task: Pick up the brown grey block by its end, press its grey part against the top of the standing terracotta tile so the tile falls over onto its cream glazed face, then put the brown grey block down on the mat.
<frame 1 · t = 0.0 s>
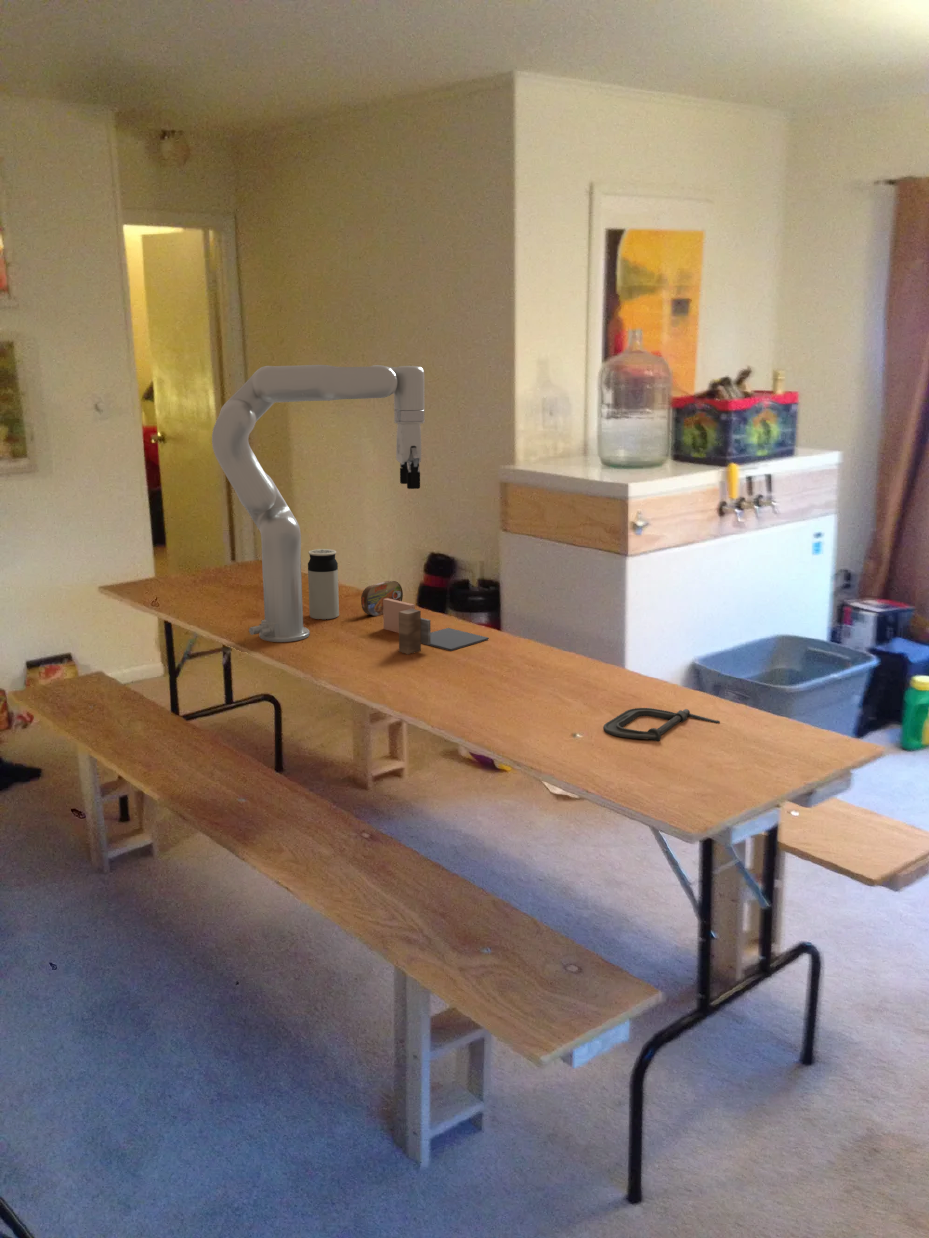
hand: (410, 486, 269), 37 cm above the table, tool pointing down, fingers open, 9 cm apart
travel mug: (324, 617, 291), on the table
tin: (382, 613, 296), on the table
brown grey block: (410, 651, 258), on the table
c clamp: (656, 730, 209), on the table
tile: (399, 631, 276), on the table
mat: (449, 639, 268), on the table
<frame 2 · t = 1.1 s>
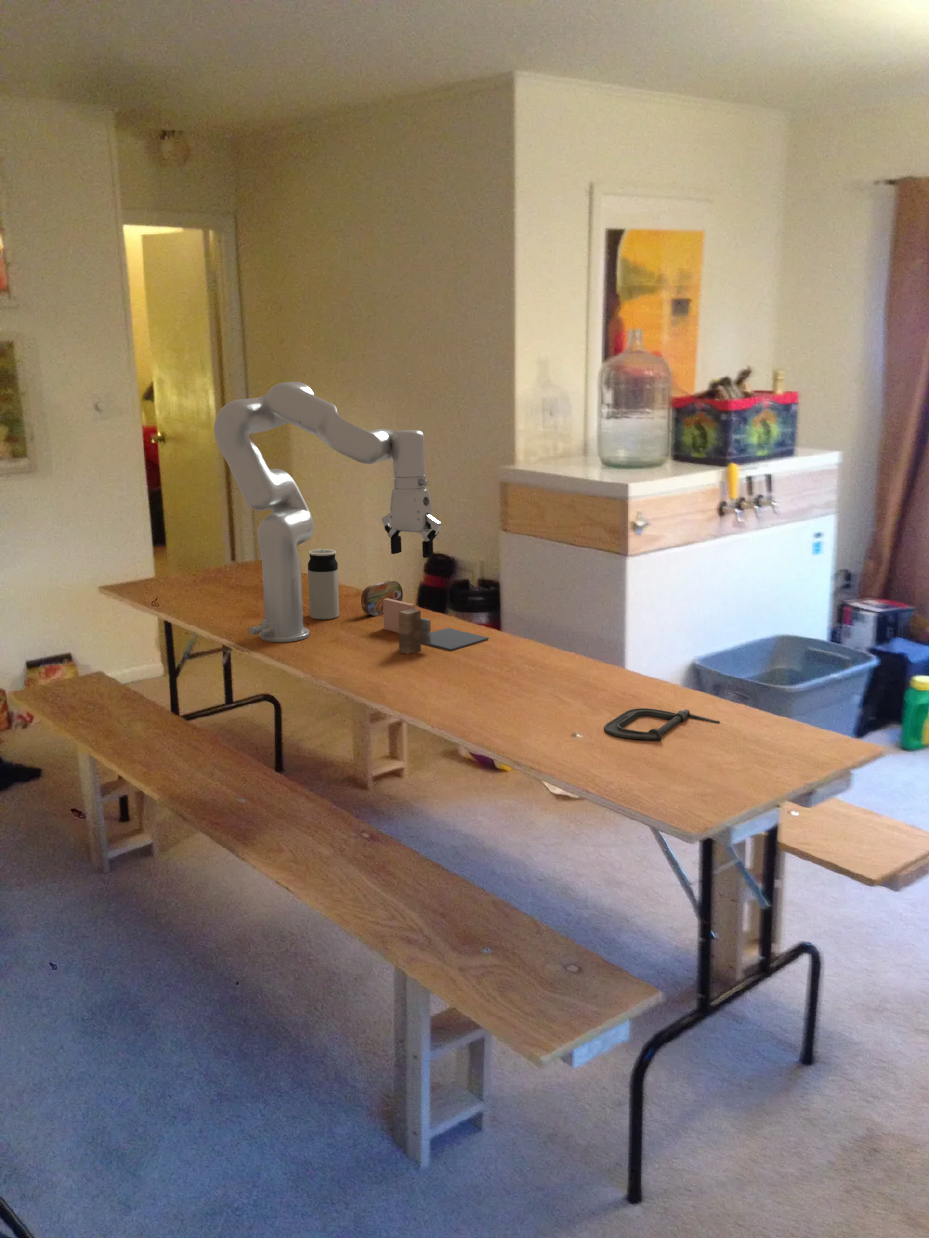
hand: (411, 555, 255), 23 cm above the table, tool pointing down, fingers open, 9 cm apart
nothing on the table moved.
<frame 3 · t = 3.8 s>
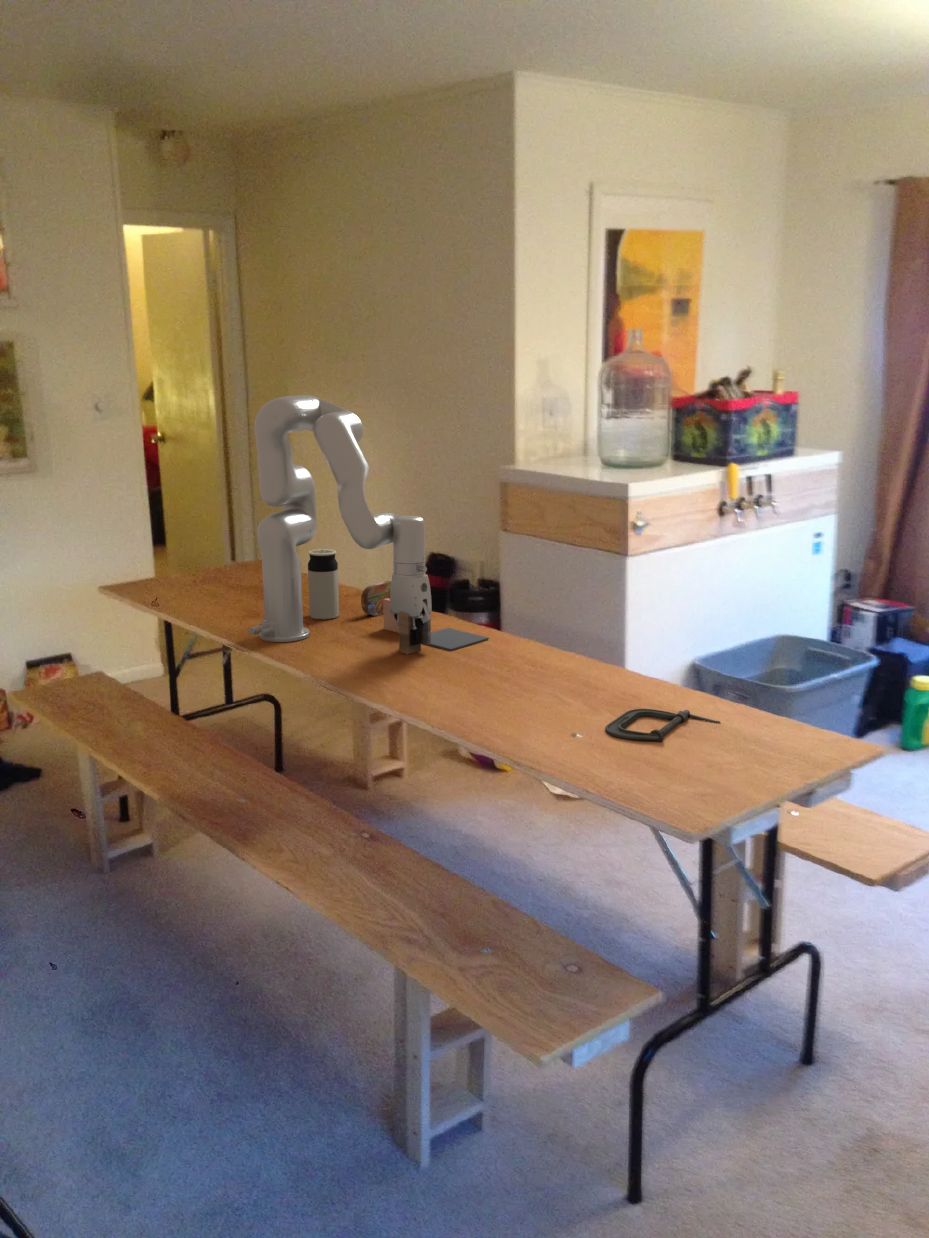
hand: (410, 642, 258), 2 cm above the table, tool pointing down, fingers closed on brown grey block, 3 cm apart
brown grey block: (410, 651, 258), on the table, touching gripper
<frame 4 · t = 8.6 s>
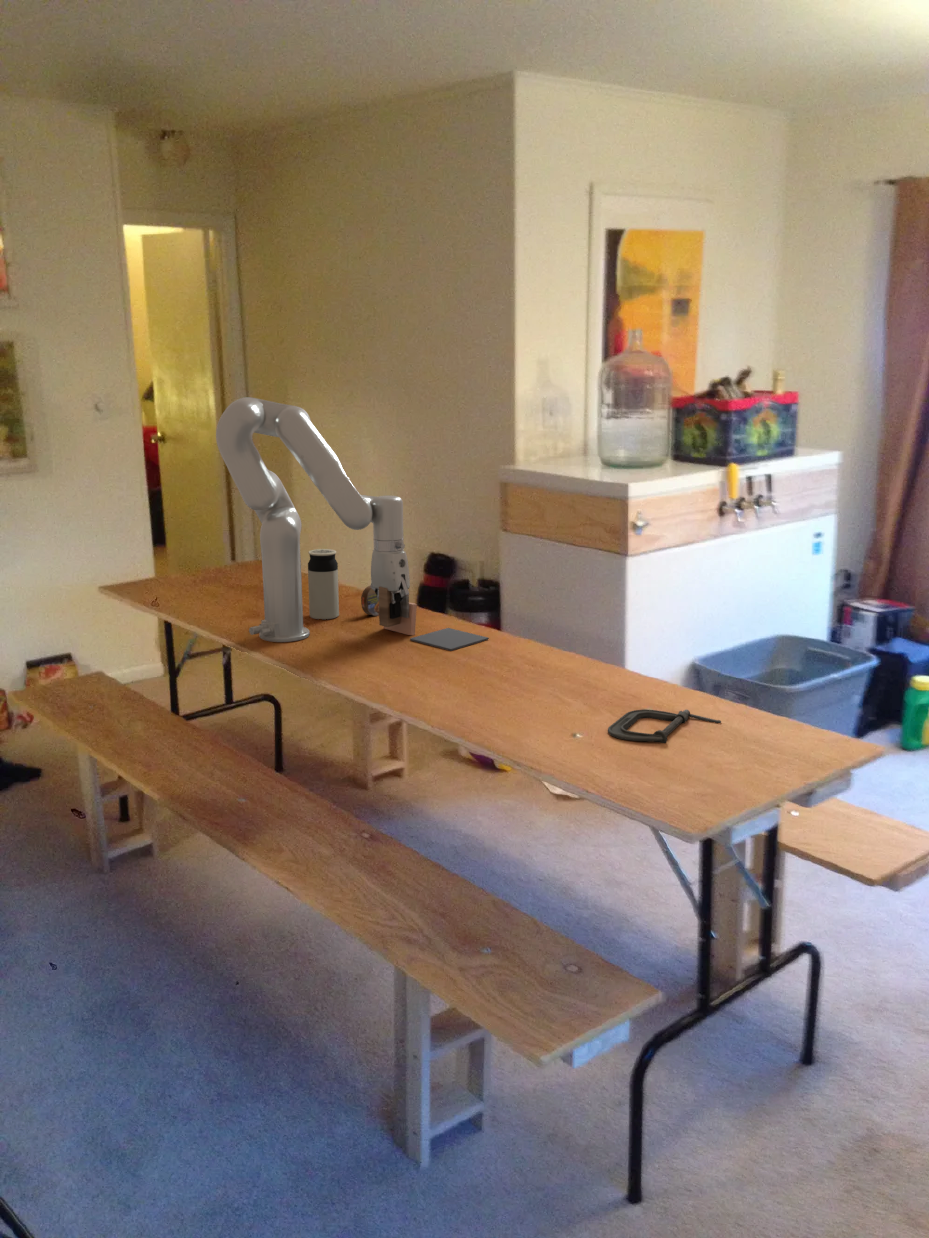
hand: (389, 615, 272), 5 cm above the table, tool pointing down, fingers closed on brown grey block, 3 cm apart
brown grey block: (389, 624, 273), point 3 cm above the table, touching gripper
tile: (399, 631, 276), on the table, tilted 5°
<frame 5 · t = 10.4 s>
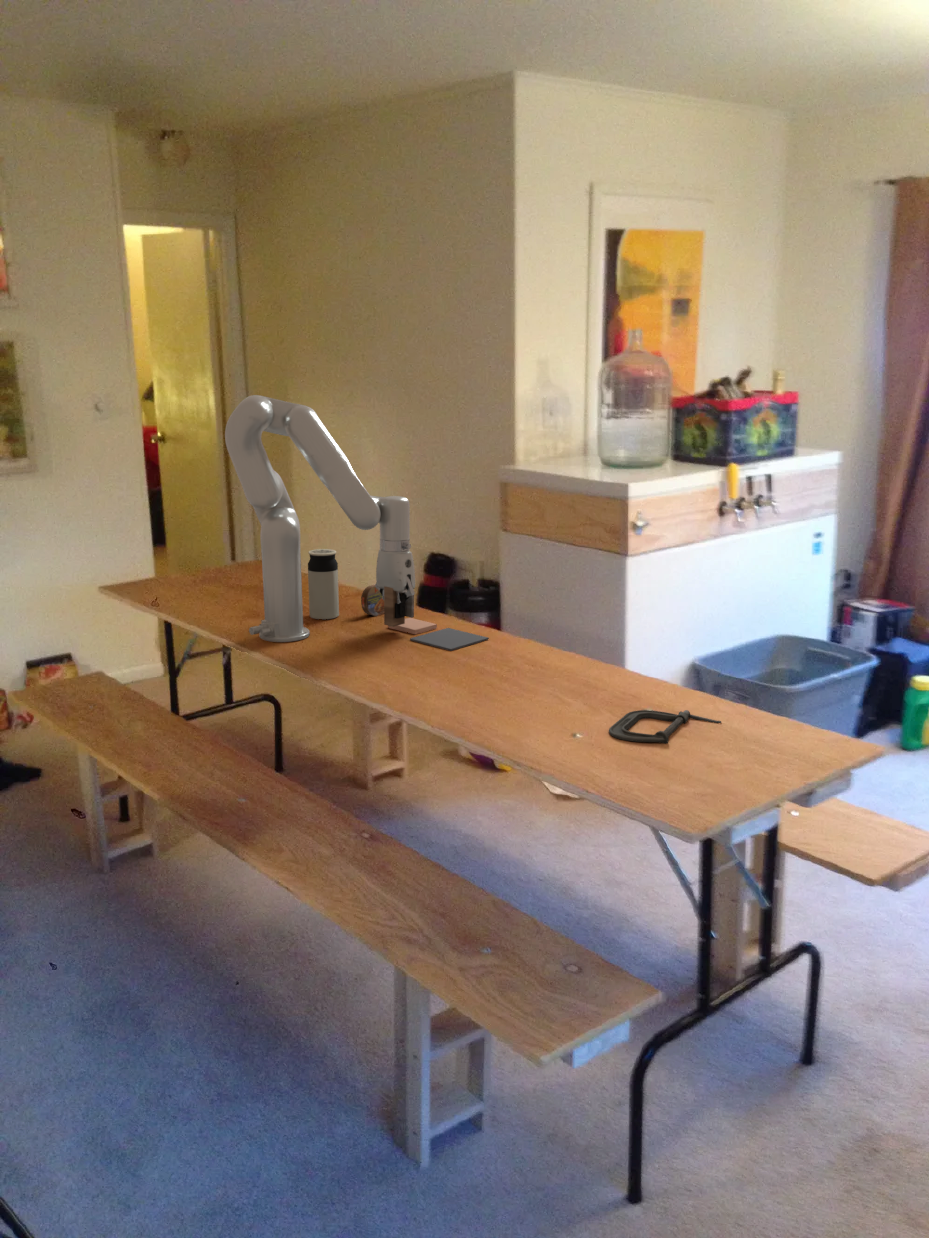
hand: (394, 615, 274), 4 cm above the table, tool pointing down, fingers closed on brown grey block, 3 cm apart
brown grey block: (394, 624, 275), point 2 cm above the table, touching gripper
tile: (401, 629, 276), on the table, tilted 90°
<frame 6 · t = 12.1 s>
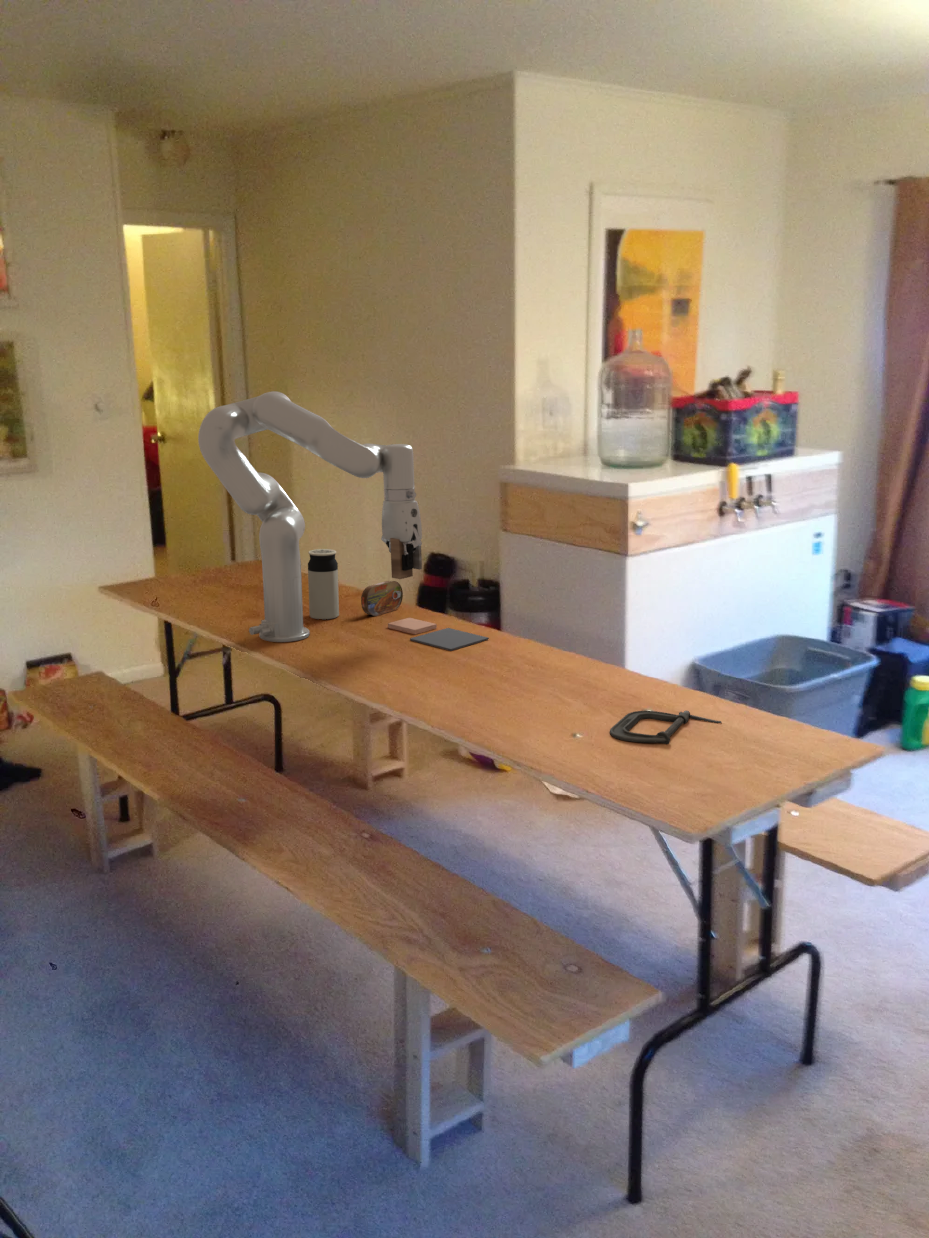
hand: (402, 568, 266), 18 cm above the table, tool pointing down, fingers closed on brown grey block, 3 cm apart
brown grey block: (402, 577, 267), point 16 cm above the table, touching gripper
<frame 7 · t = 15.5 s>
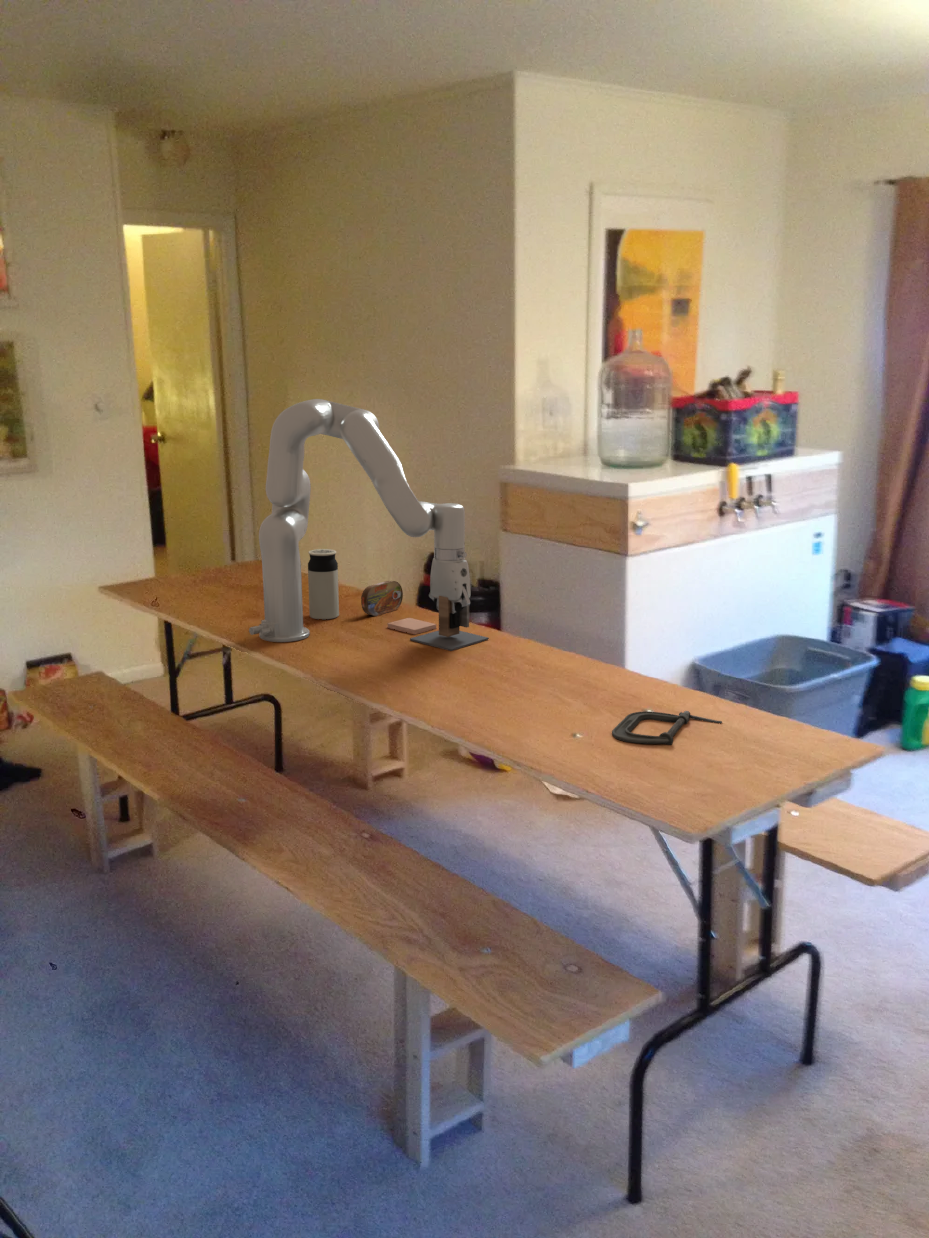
hand: (449, 625, 267), 4 cm above the table, tool pointing down, fingers closed on brown grey block, 3 cm apart
brown grey block: (449, 634, 268), point 2 cm above the table, touching gripper
when the fingers open (4 cm above the table, at t = 15.7 s): brown grey block stays where it is, resting on mat.
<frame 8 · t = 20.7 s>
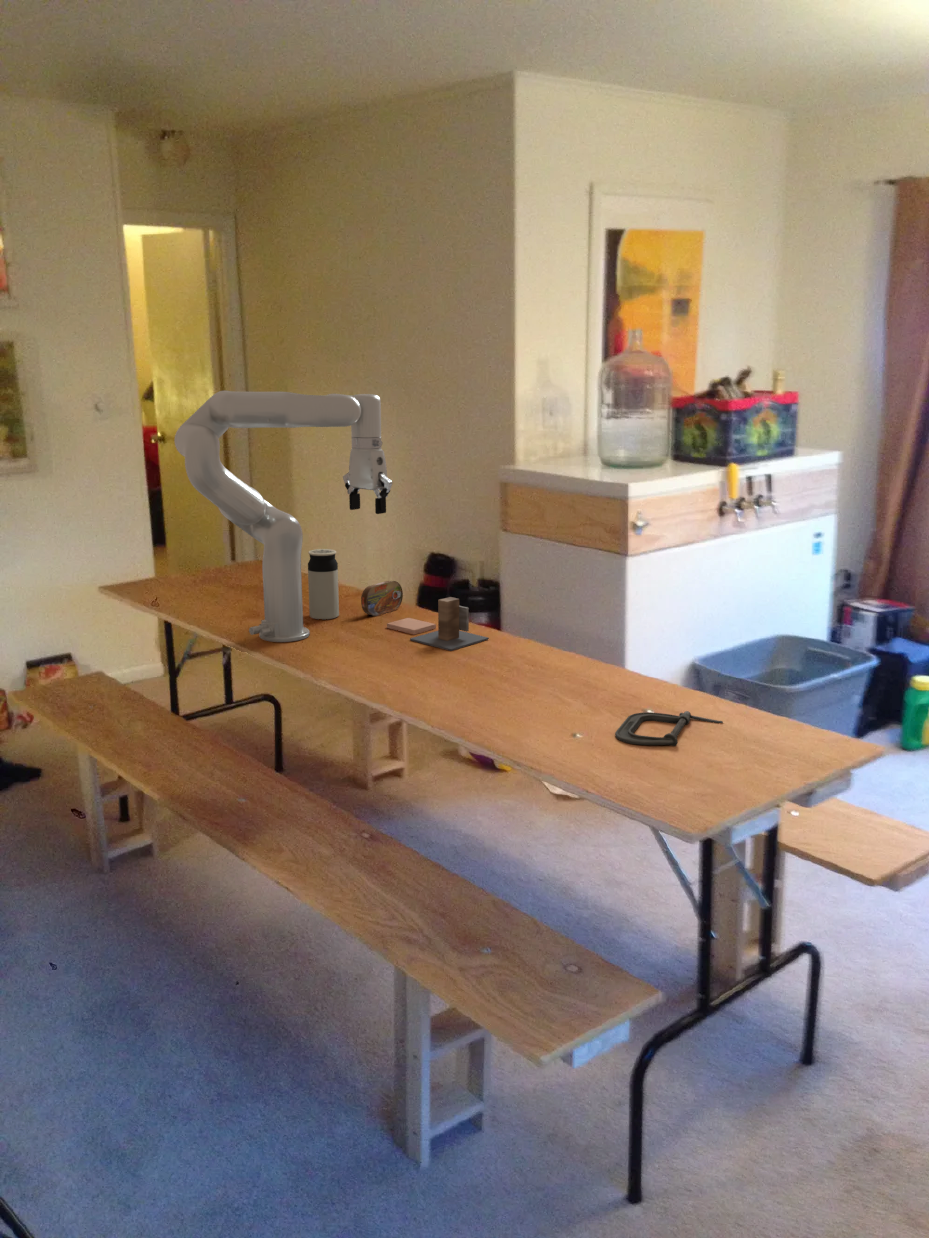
hand: (367, 511, 274), 30 cm above the table, tool pointing down, fingers open, 9 cm apart
brown grey block: (448, 638, 268), resting on mat
at the end: tile tilted 90°; tile inside the target area (2.4 cm from its centre), on the table; brown grey block inside the target area on the mat (0.2 cm from its centre), point 0.5 cm above the mat's base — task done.
